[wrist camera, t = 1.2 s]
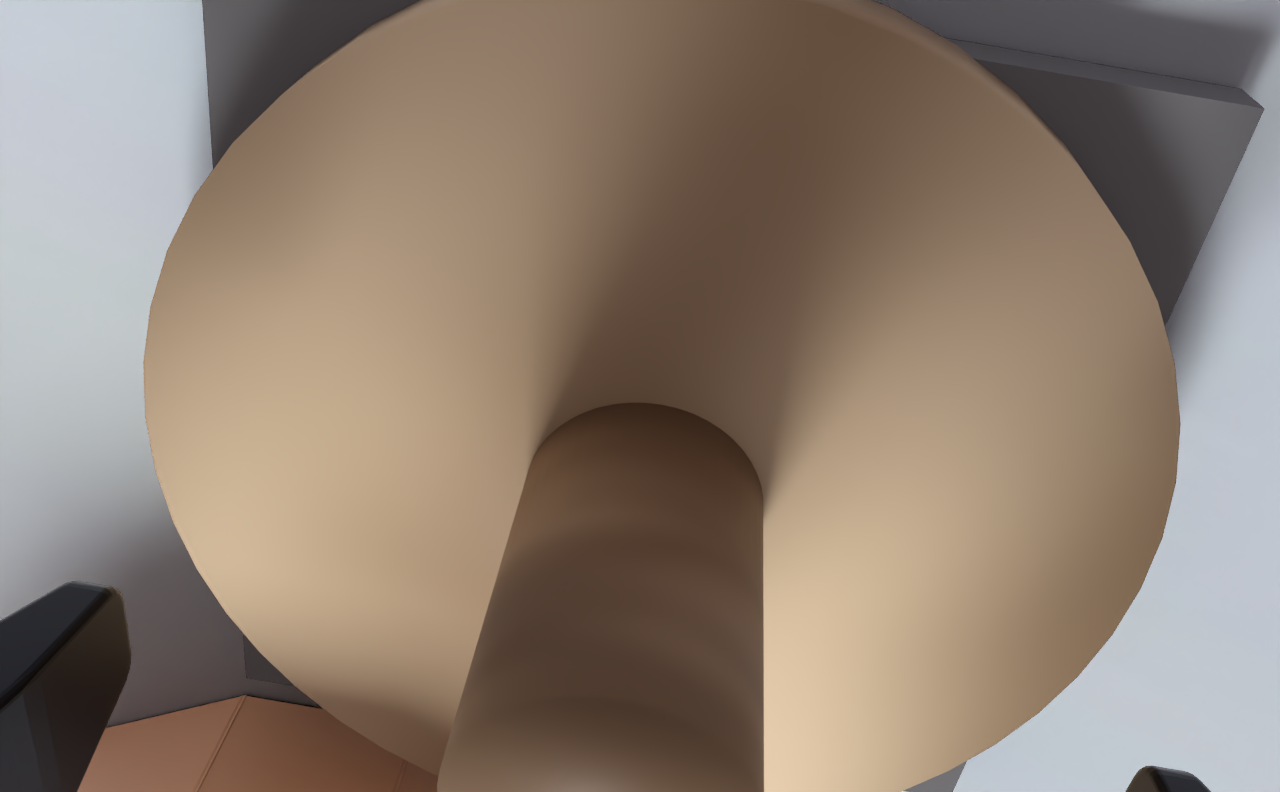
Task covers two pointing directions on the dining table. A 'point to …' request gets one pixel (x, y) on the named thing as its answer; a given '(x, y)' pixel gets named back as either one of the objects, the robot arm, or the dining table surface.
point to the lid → (662, 396)
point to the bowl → (247, 753)
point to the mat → (1052, 87)
